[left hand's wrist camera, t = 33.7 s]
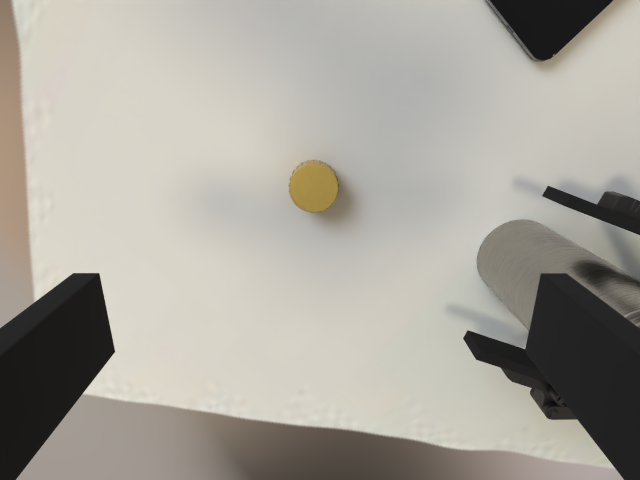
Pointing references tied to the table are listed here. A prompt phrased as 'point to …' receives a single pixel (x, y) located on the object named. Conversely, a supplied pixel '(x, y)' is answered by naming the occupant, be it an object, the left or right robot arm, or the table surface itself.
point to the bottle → (549, 269)
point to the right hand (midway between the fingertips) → (510, 274)
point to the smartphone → (546, 22)
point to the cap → (313, 186)
